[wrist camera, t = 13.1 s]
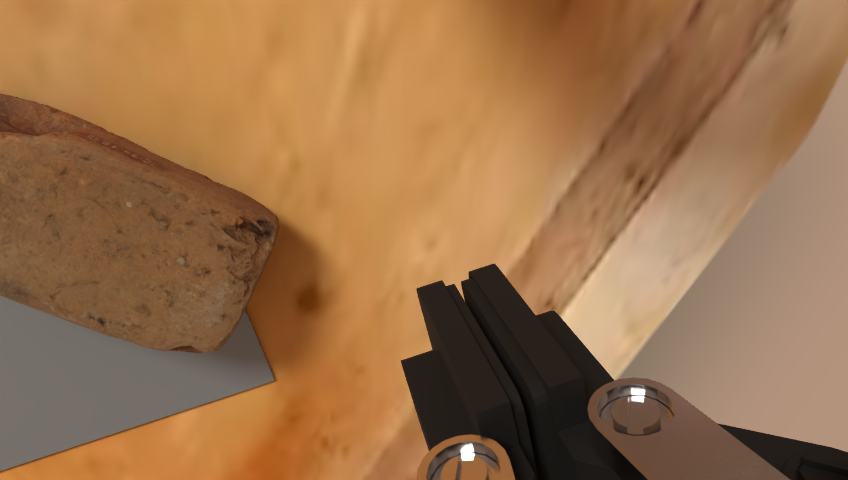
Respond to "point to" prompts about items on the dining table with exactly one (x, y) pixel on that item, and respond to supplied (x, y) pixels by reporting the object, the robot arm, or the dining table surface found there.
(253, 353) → the mat
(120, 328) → the block
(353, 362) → the dining table surface
